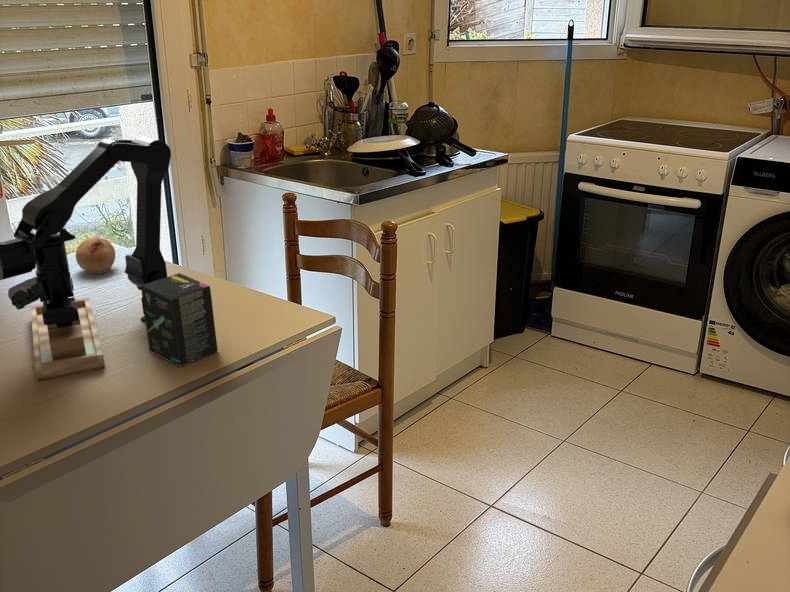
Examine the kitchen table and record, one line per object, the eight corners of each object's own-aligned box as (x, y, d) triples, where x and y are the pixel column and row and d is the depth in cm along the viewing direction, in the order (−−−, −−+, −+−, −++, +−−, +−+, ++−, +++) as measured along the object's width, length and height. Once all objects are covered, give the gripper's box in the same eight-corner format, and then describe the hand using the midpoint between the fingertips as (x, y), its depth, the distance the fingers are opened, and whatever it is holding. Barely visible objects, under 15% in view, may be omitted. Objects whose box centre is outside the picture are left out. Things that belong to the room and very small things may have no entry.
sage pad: (98, 364, 151) (97, 359, 151) (43, 375, 147) (41, 369, 147) (94, 347, 158) (93, 342, 157) (41, 357, 154) (40, 352, 154)
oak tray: (105, 368, 151) (102, 354, 150) (37, 380, 146) (35, 366, 145) (90, 310, 176) (88, 297, 175) (33, 319, 171) (30, 306, 170)
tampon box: (218, 352, 157) (212, 285, 151) (179, 368, 151) (171, 299, 145) (187, 335, 164) (179, 271, 158) (148, 350, 158) (139, 284, 152)
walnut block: (86, 357, 152) (83, 336, 150) (53, 363, 149) (49, 342, 147) (84, 344, 157) (80, 324, 155) (52, 349, 154) (48, 329, 152)
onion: (107, 286, 197) (108, 258, 190) (70, 276, 196) (69, 248, 189) (120, 261, 204) (121, 233, 197) (84, 252, 202) (83, 223, 195)
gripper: (6, 255, 155) (21, 326, 161) (6, 289, 139) (22, 365, 146) (66, 248, 159) (78, 317, 165) (72, 279, 144) (85, 354, 150)
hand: (65, 337), depth 156 cm, fingers closed
